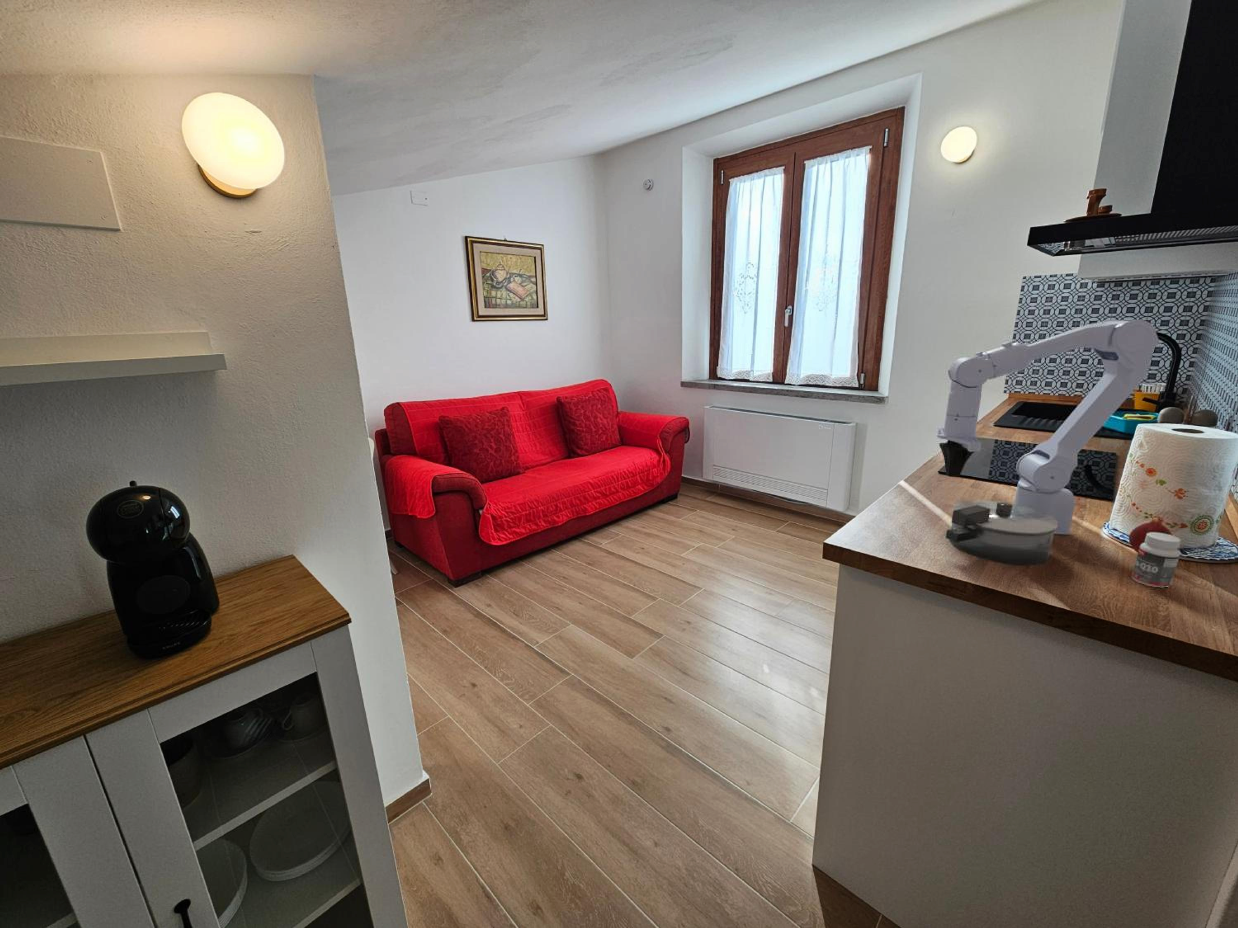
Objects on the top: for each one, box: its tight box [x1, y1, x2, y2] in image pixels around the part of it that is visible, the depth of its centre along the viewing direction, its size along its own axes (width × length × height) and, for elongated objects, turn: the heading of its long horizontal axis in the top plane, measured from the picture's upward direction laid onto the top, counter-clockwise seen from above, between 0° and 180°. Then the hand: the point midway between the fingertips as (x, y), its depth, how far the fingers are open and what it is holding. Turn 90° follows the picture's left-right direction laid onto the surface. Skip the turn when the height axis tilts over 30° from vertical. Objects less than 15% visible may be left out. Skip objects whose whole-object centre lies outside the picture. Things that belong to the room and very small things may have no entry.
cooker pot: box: [945, 523, 1055, 566], centre depth 102 cm, size 21×16×6 cm
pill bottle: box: [1131, 532, 1182, 588], centre depth 87 cm, size 5×5×8 cm
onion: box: [1128, 517, 1174, 554], centre depth 96 cm, size 6×6×8 cm
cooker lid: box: [951, 499, 1058, 535], centre depth 100 cm, size 21×17×3 cm
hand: (952, 476), depth 114 cm, fingers closed
